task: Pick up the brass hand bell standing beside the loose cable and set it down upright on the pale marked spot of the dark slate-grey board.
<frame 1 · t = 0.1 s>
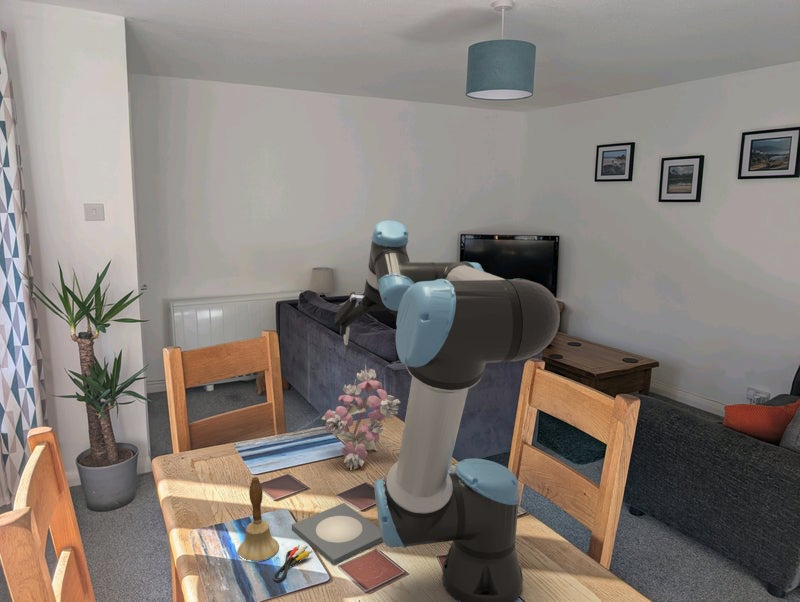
hand: (372, 340, 145), 36 cm above the table, tool tilted 35°, fingers open, 13 cm apart
flower: (358, 459, 158), on the table
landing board: (339, 534, 123), on the table
hand bell: (258, 550, 117), on the table
composite cable: (288, 568, 112), on the table
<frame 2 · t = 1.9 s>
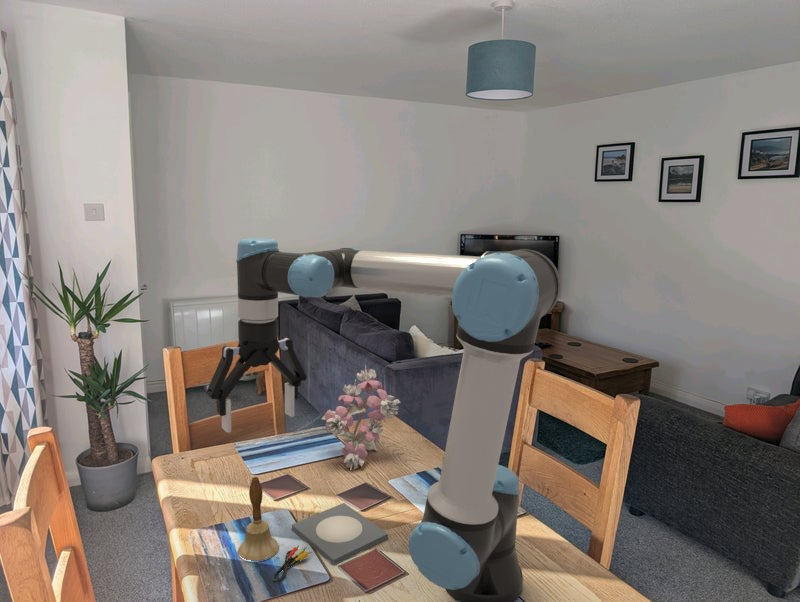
hand: (259, 422, 114), 27 cm above the table, tool pointing down, fingers open, 13 cm apart
nothing on the table moved.
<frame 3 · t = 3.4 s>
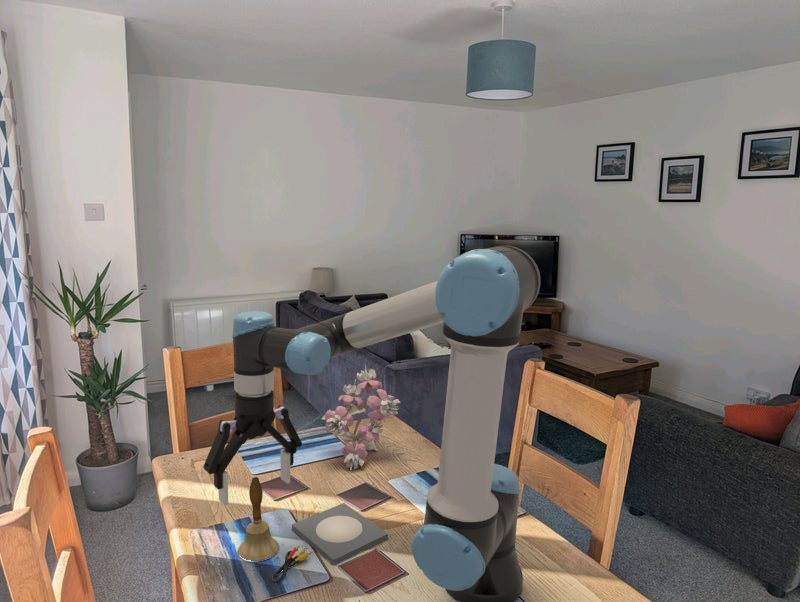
hand: (255, 491, 114), 13 cm above the table, tool pointing down, fingers open, 13 cm apart
nothing on the table moved.
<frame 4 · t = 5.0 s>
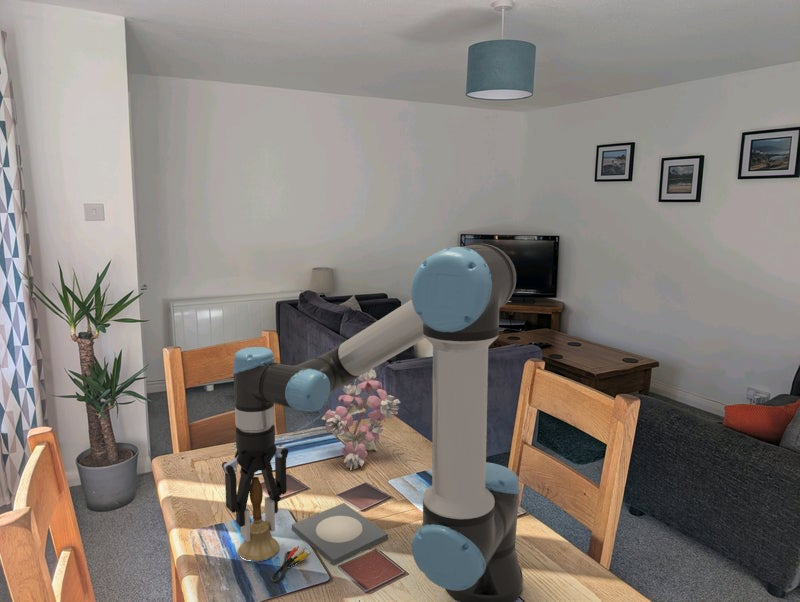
hand: (258, 533, 116), 4 cm above the table, tool pointing down, fingers closed on hand bell, 5 cm apart
hand bell: (258, 550, 117), on the table, touching gripper
everything else where it was.
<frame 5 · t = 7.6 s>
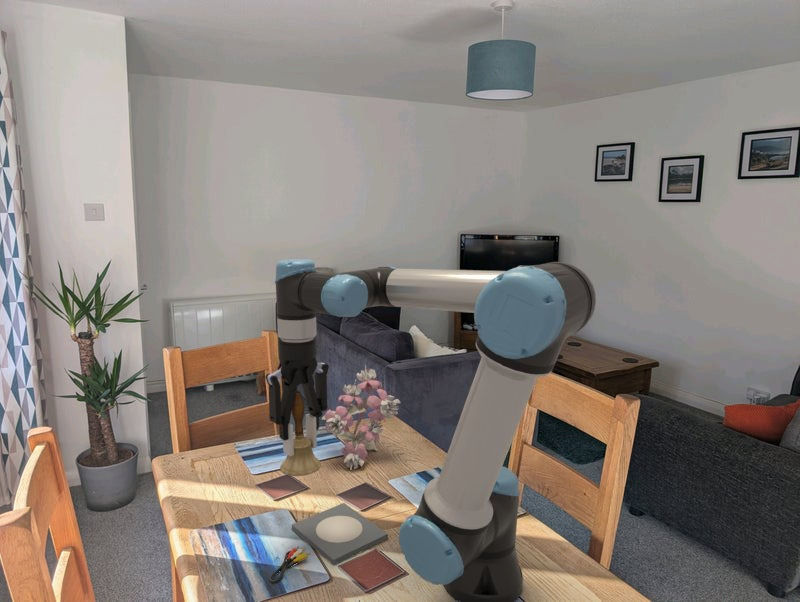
hand: (300, 449, 115), 21 cm above the table, tool pointing down, fingers closed on hand bell, 5 cm apart
hand bell: (300, 467, 116), point 17 cm above the table, touching gripper
everything else where it was.
when the fingers open (6 cm above the table, at t = 10.5 s): hand bell drops 1 cm, resting on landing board.
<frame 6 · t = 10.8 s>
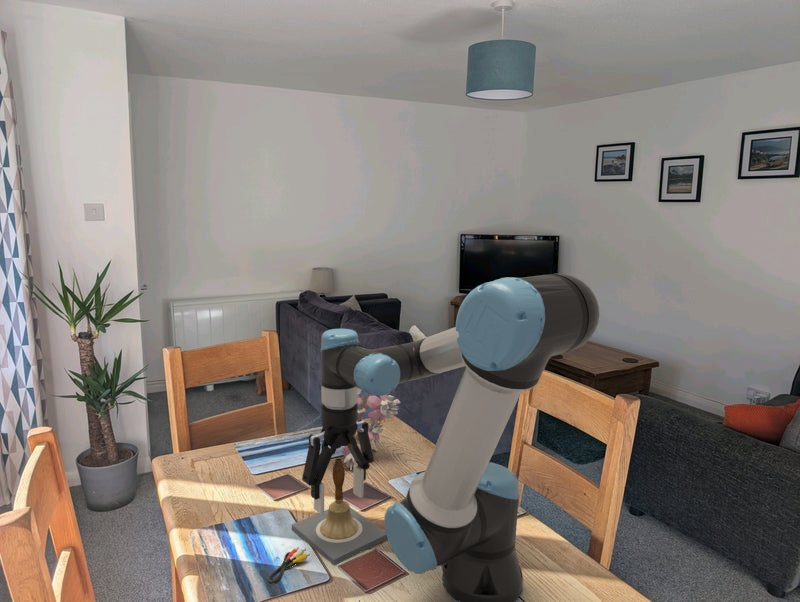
hand: (339, 503, 121), 7 cm above the table, tool pointing down, fingers open, 9 cm apart
hand bell: (339, 529, 122), point 1 cm above the table, touching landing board
everything else where it was.
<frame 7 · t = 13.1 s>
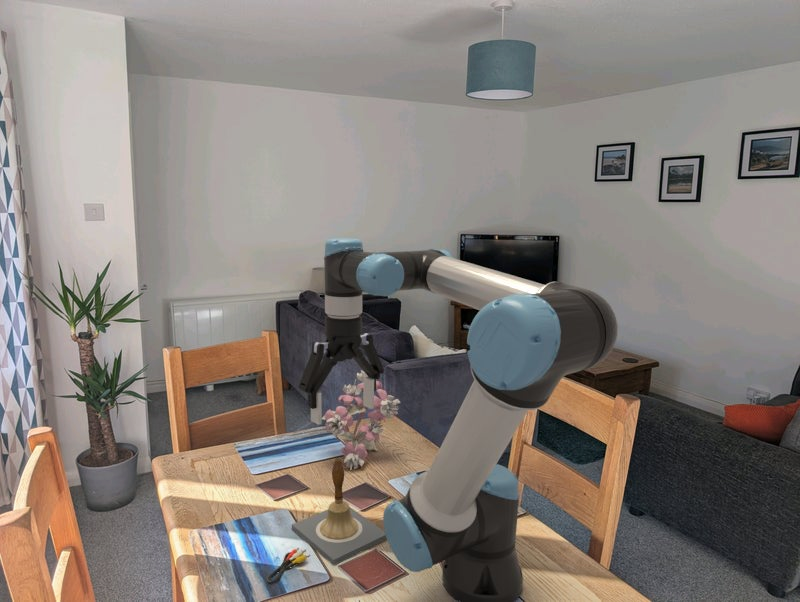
hand: (343, 414, 119), 27 cm above the table, tool pointing down, fingers open, 13 cm apart
nothing on the table moved.
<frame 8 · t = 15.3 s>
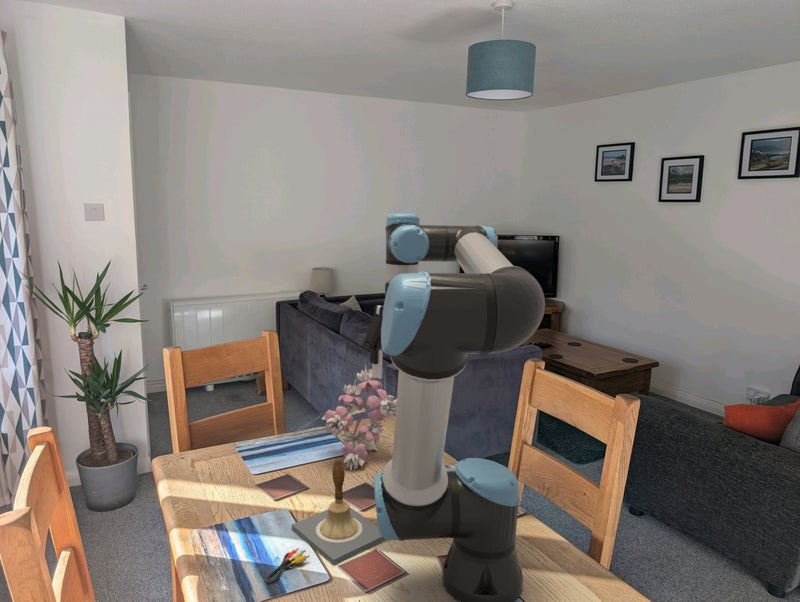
hand: (399, 371, 133), 32 cm above the table, tool pointing down, fingers open, 13 cm apart
at the end: hand bell inside the target area on the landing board (0.0 cm from its centre), point 1.1 cm above the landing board's base; hand bell tilted 0°; the gripper is holding nothing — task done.
